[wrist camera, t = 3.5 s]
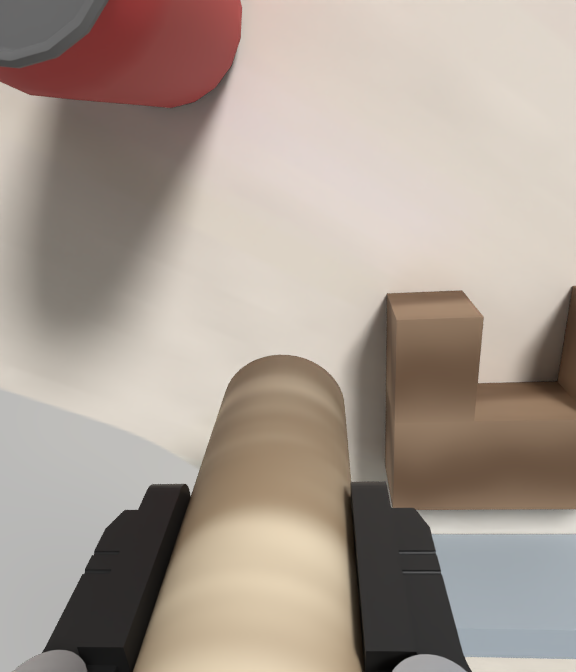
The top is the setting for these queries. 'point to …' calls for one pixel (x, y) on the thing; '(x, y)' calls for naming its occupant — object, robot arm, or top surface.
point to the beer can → (118, 48)
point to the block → (472, 415)
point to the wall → (511, 593)
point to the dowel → (265, 536)
